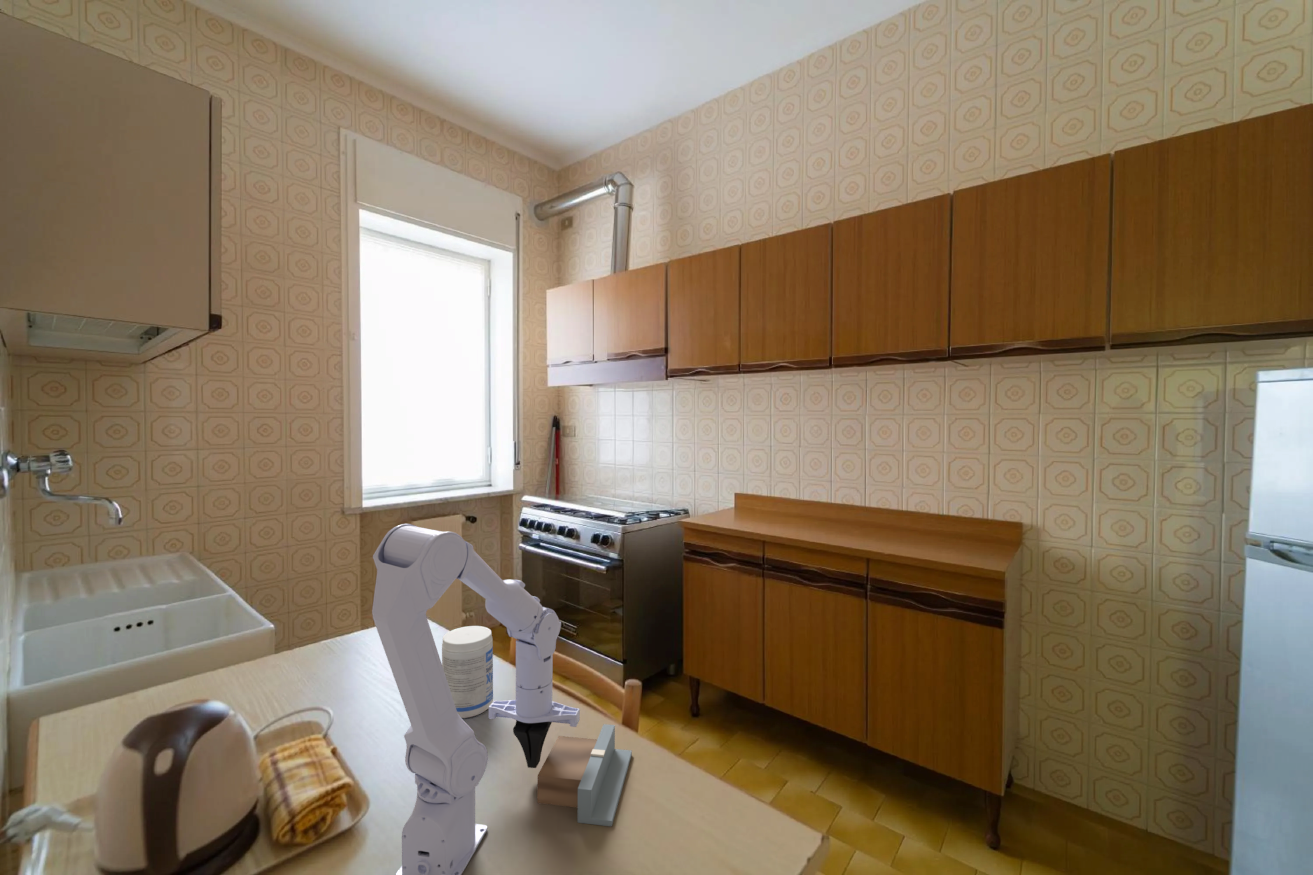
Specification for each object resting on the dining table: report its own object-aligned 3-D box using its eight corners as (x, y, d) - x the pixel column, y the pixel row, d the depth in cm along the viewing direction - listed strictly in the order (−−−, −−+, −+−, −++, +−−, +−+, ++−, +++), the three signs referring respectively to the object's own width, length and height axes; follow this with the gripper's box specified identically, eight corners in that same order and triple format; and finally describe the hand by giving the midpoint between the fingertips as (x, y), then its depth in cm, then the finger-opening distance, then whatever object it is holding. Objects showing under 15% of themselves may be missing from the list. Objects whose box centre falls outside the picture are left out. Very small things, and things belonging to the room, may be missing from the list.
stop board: (611, 826, 75) (611, 789, 75) (577, 822, 76) (577, 786, 75) (631, 754, 91) (632, 724, 90) (603, 752, 91) (603, 722, 91)
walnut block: (582, 809, 78) (582, 780, 78) (537, 804, 79) (537, 775, 79) (598, 765, 88) (599, 739, 88) (558, 761, 89) (558, 735, 89)
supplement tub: (499, 711, 104) (499, 637, 103) (448, 726, 99) (448, 648, 98) (485, 689, 112) (485, 621, 111) (437, 702, 107) (437, 630, 106)
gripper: (585, 672, 87) (584, 752, 87) (501, 665, 89) (501, 743, 89) (572, 694, 80) (571, 781, 80) (482, 686, 82) (482, 771, 83)
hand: (533, 763), depth 85 cm, fingers closed
